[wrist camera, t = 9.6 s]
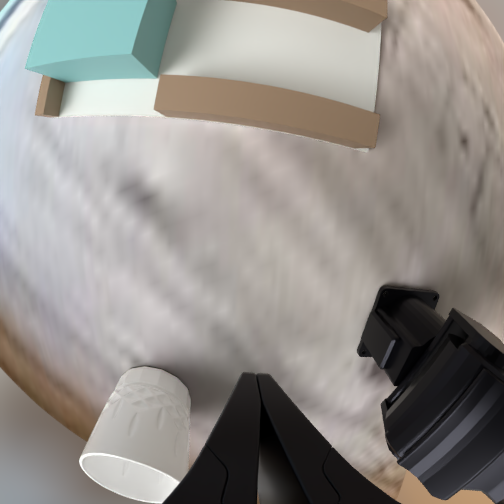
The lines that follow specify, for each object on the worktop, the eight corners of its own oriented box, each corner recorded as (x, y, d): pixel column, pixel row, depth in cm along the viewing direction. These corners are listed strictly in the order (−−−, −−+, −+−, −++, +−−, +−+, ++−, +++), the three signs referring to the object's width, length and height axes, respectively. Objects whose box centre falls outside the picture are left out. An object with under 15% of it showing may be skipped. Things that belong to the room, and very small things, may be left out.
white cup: (145, 345, 22) (108, 442, 12) (215, 397, 24) (211, 493, 14) (100, 384, 23) (64, 464, 13) (163, 427, 25) (148, 508, 15)
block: (177, 3, 13) (161, -36, 8) (156, 78, 15) (131, 54, 10) (87, 11, 12) (55, -16, 8) (66, 82, 14) (24, 68, 10)
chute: (378, 20, 15) (400, 2, 11) (364, 152, 18) (390, 152, 14) (90, -8, 12) (71, -27, 9) (54, 117, 16) (26, 114, 12)
